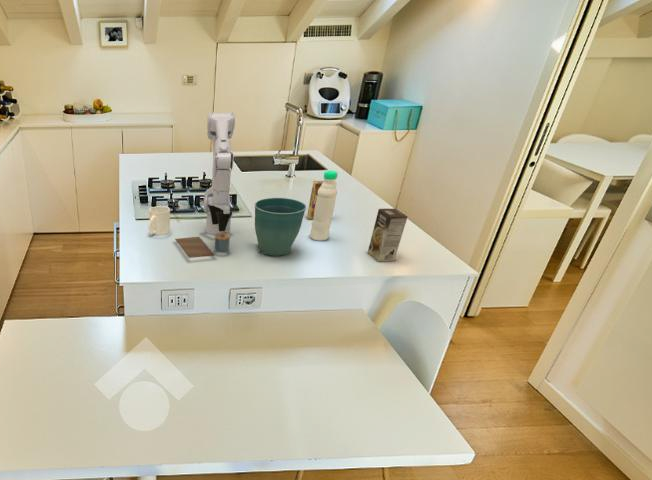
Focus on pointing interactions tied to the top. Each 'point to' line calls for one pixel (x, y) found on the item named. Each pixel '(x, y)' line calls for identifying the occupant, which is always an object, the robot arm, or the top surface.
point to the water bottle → (324, 207)
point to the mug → (159, 220)
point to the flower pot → (277, 224)
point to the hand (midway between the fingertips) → (218, 227)
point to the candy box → (313, 198)
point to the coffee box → (387, 234)
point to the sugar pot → (222, 242)
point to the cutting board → (194, 247)
